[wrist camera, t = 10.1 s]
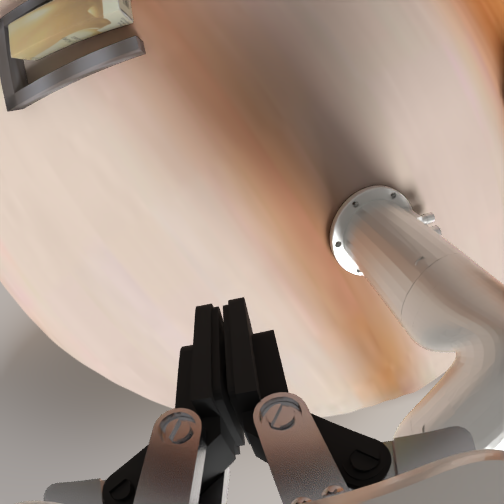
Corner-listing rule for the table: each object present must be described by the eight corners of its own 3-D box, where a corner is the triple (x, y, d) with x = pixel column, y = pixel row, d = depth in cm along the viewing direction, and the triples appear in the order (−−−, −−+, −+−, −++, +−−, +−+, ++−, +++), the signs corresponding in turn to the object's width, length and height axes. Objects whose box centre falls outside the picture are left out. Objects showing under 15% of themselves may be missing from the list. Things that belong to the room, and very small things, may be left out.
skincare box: (135, 23, 24) (38, 61, 24) (131, -9, 22) (35, 31, 22) (118, 9, 19) (8, 59, 18) (114, -28, 17) (6, 24, 16)
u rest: (127, -33, 21) (120, -44, 18) (145, 53, 26) (138, 48, 23) (8, 26, 20) (-7, 23, 17) (23, 108, 26) (7, 111, 23)
